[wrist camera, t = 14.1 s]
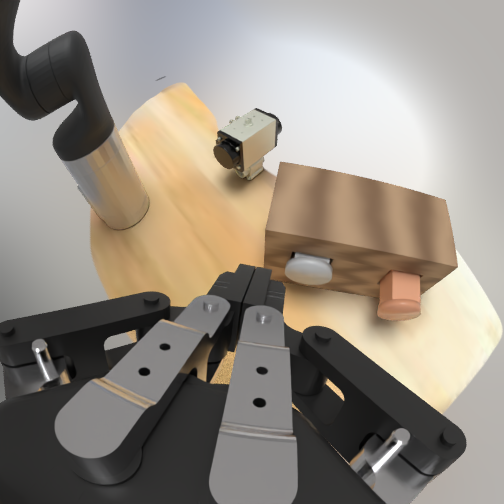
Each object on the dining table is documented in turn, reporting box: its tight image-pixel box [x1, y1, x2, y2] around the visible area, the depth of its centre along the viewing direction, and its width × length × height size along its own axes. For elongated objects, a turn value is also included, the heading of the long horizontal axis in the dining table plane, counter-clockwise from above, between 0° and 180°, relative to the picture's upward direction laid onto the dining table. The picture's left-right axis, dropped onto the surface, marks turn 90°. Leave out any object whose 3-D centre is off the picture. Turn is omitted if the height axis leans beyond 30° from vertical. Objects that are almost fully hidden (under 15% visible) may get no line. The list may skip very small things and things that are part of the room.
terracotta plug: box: [377, 270, 421, 321], centre depth 32 cm, size 6×11×6 cm, turn 168°
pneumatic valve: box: [213, 108, 282, 180], centre depth 44 cm, size 6×12×12 cm, turn 138°
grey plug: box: [285, 252, 333, 285], centre depth 34 cm, size 6×11×6 cm, turn 168°
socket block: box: [264, 162, 458, 298], centre depth 35 cm, size 23×10×13 cm, turn 78°
